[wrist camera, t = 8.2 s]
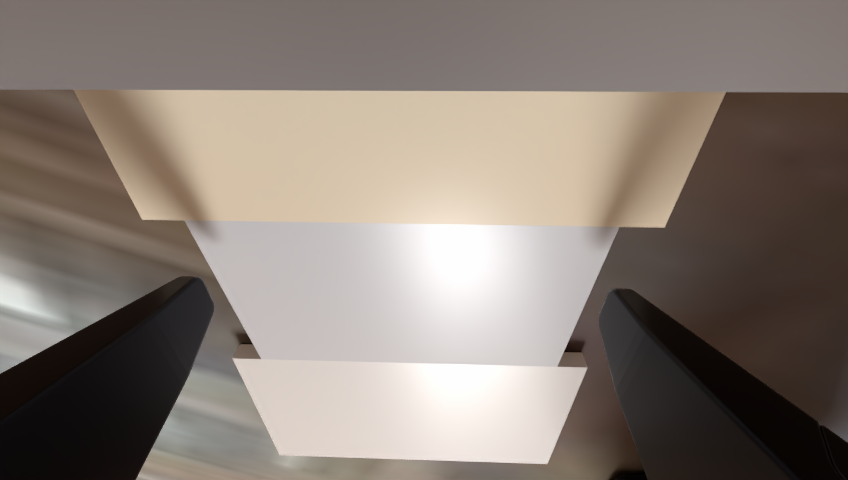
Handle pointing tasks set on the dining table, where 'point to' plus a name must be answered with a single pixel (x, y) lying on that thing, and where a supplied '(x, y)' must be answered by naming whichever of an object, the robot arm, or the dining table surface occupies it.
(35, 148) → the dining table surface
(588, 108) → the dock
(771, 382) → the dining table surface
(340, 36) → the green block on base
